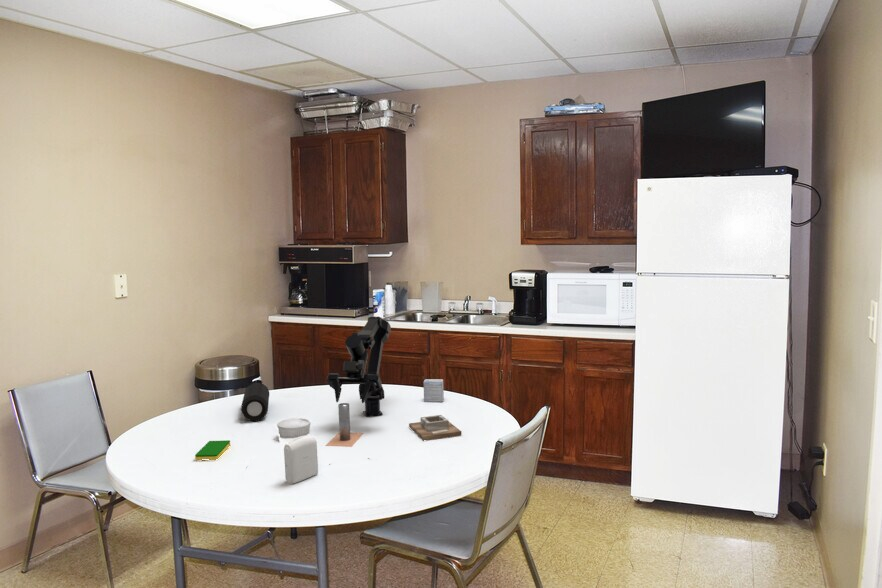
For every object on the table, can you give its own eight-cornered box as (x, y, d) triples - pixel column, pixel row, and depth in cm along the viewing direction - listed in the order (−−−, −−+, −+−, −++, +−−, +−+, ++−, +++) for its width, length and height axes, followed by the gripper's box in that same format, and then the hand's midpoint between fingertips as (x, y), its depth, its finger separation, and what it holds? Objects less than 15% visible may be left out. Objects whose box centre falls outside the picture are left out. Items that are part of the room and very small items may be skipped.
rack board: (409, 427, 239) (408, 415, 239) (445, 422, 244) (445, 410, 244) (423, 440, 224) (422, 428, 224) (461, 435, 229) (461, 422, 229)
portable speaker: (268, 421, 251) (267, 395, 249) (241, 424, 248) (239, 398, 247) (270, 403, 275) (268, 380, 274) (245, 405, 273) (244, 382, 272)
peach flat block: (339, 436, 231) (339, 432, 231) (364, 437, 229) (364, 433, 229) (325, 450, 217) (325, 445, 217) (351, 451, 216) (351, 446, 216)
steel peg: (338, 438, 224) (337, 403, 223) (349, 436, 226) (347, 402, 224) (340, 441, 221) (339, 406, 220) (351, 440, 222) (350, 405, 221)
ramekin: (317, 436, 232) (316, 421, 231) (290, 444, 224) (289, 429, 223) (298, 430, 239) (298, 416, 239) (271, 438, 231) (271, 423, 231)
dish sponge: (195, 462, 210) (194, 455, 210) (209, 447, 224) (209, 440, 223) (217, 461, 210) (217, 454, 210) (230, 447, 224) (230, 440, 223)
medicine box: (443, 399, 276) (443, 379, 275) (442, 402, 272) (442, 381, 271) (425, 399, 277) (424, 379, 276) (423, 402, 272) (423, 381, 271)
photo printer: (292, 485, 189) (290, 443, 187) (283, 481, 191) (281, 440, 190) (320, 474, 197) (318, 434, 195) (311, 471, 199) (309, 431, 198)
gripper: (327, 351, 233) (317, 389, 224) (378, 351, 230) (370, 390, 220) (335, 368, 242) (326, 405, 232) (385, 369, 239) (377, 407, 229)
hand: (349, 402), depth 228 cm, fingers open, 9 cm apart
